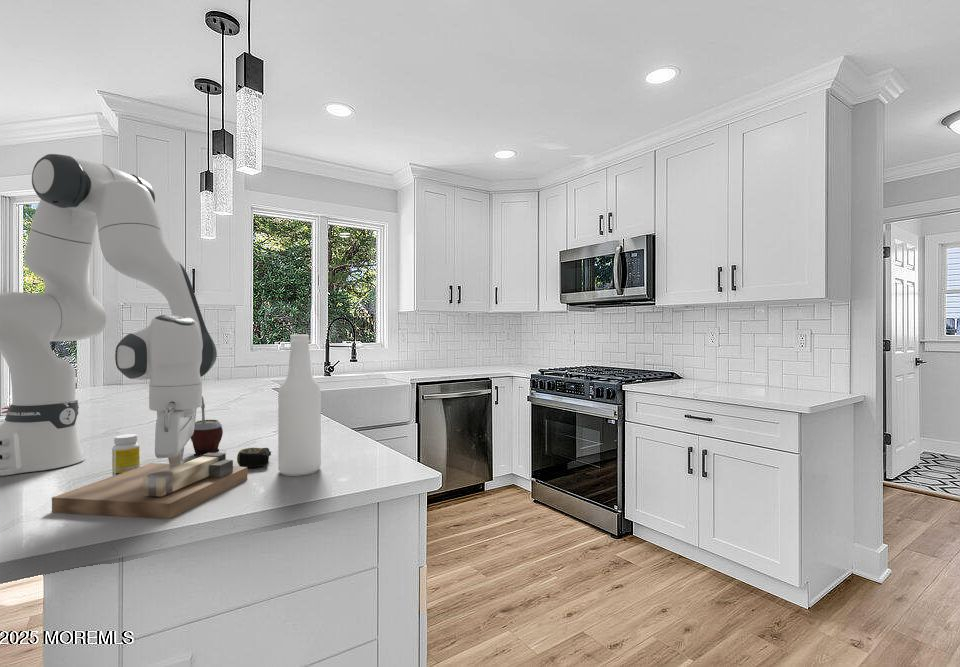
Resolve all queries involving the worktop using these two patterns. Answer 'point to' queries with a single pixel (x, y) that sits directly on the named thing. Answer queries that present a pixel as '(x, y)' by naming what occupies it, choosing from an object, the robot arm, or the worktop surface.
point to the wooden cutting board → (128, 499)
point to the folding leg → (180, 475)
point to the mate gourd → (206, 435)
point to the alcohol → (299, 414)
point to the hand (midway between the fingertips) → (176, 469)
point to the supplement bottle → (125, 454)
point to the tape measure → (253, 457)
